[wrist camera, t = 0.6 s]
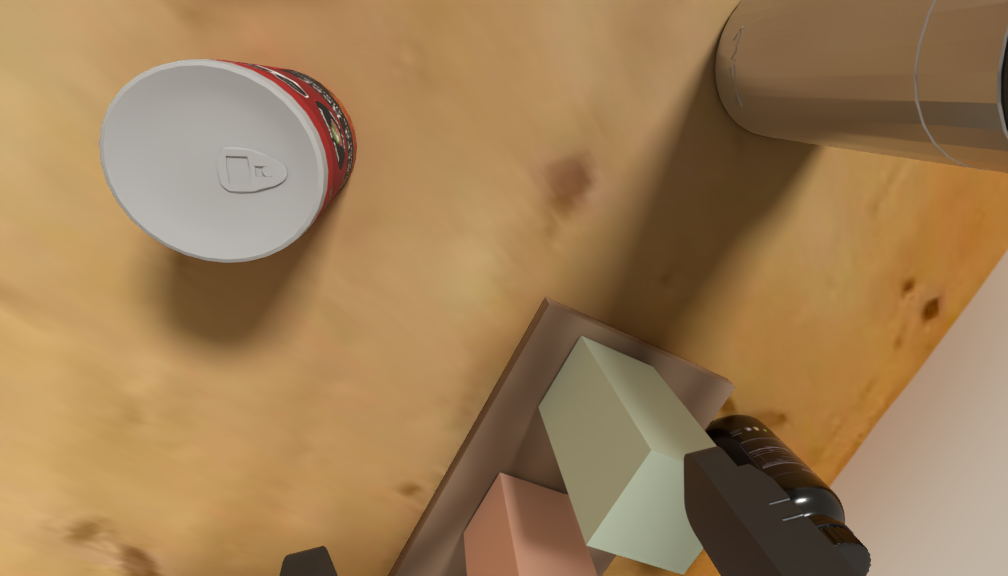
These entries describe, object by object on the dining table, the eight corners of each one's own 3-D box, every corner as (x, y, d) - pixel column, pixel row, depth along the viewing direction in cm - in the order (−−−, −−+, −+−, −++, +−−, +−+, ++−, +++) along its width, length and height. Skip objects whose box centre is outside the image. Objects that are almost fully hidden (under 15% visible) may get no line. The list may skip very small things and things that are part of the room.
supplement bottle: (753, 482, 44) (862, 615, 33) (677, 480, 43) (764, 619, 32) (779, 412, 42) (905, 531, 31) (699, 408, 41) (801, 530, 30)
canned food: (375, 189, 32) (351, 239, 22) (242, 220, 31) (154, 286, 21) (333, 52, 29) (283, 34, 19) (187, 85, 28) (53, 85, 18)
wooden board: (360, 624, 44) (359, 638, 43) (545, 297, 36) (549, 304, 35) (528, 661, 48) (530, 675, 47) (727, 378, 40) (735, 387, 39)
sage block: (538, 406, 37) (586, 545, 26) (581, 335, 35) (651, 450, 24) (609, 433, 39) (683, 574, 28) (653, 366, 37) (750, 487, 26)
